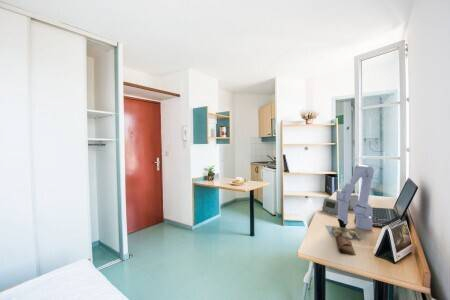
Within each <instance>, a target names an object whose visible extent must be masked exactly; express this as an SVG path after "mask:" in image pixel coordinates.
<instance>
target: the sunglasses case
mask: <svg viewBox="0 0 450 300" xmlns="http://www.w3.org/2000/svg"><path fill="white" fill-rule="evenodd" d="M335 240H336V244H337V248H338V252H339V253H340V254H343V255H347V256H348V255H349V256H356V255H357V254H356V252H355V249H354V247H353V245H352V241H351V240H350V239H345V238H343V237H342V236H340V235H337V236H336V238H335Z"/></svg>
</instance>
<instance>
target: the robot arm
mask: <svg viewBox="0 0 450 300" xmlns="http://www.w3.org/2000/svg"><path fill="white" fill-rule="evenodd" d="M353 172H354V173H353V174H352V176H351V178H350V180H349V182H346V183H345V185H344V186H343V187H342V188H343V189H342V188H341V190H342V191H341V192H339V193H338V194H337V193H336V198H337V202H338V214H337V215H336V216H335V218H336V219H337V222H338V226H339V227H343V228H345V227H347V225H348V223H349V221H348V220H349V214H348V213H349V209H348V202H349V201H350V199H351V193H354V192H353V191H354V190H355V189H356V186H355V185H356V184H357V183H358V181H359V180H360V179H362V180H361V186H360V192H359V196H358V202H356V203H355V205H354V207H353V209H352V211H353V213H354V216H355V228H357V229H359V230H369V231H370V230H371V231H372V230H373V217H372V216H371V215H372V206H371V205H370V204H369V198H370V193H371V186H372V179H373V178H374V177H373V176H374V172H375V169H374V167H373V166H371V165H363V164H362V165H361V164H356V165H355V167H354V169H353Z"/></svg>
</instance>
